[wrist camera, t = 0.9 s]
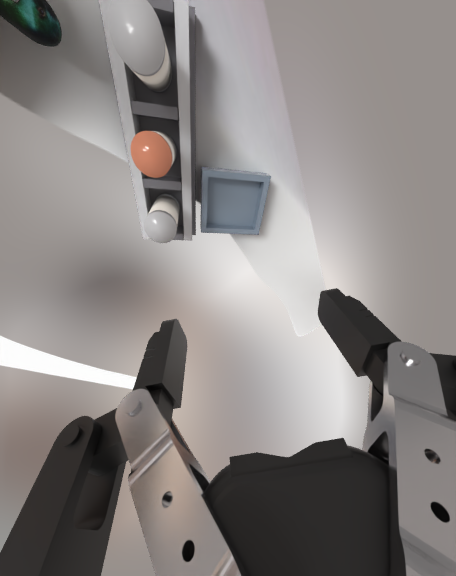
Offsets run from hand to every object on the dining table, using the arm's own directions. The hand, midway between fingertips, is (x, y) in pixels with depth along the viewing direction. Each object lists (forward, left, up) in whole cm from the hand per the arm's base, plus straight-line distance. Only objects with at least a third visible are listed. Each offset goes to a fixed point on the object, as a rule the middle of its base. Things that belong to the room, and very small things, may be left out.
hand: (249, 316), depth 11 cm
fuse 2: (-7, -1, -24) cm, 25 cm away
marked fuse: (-7, +6, -24) cm, 26 cm away
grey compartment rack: (-7, +6, -26) cm, 27 cm away
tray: (+3, 0, -26) cm, 26 cm away
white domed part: (-7, +13, -24) cm, 28 cm away
